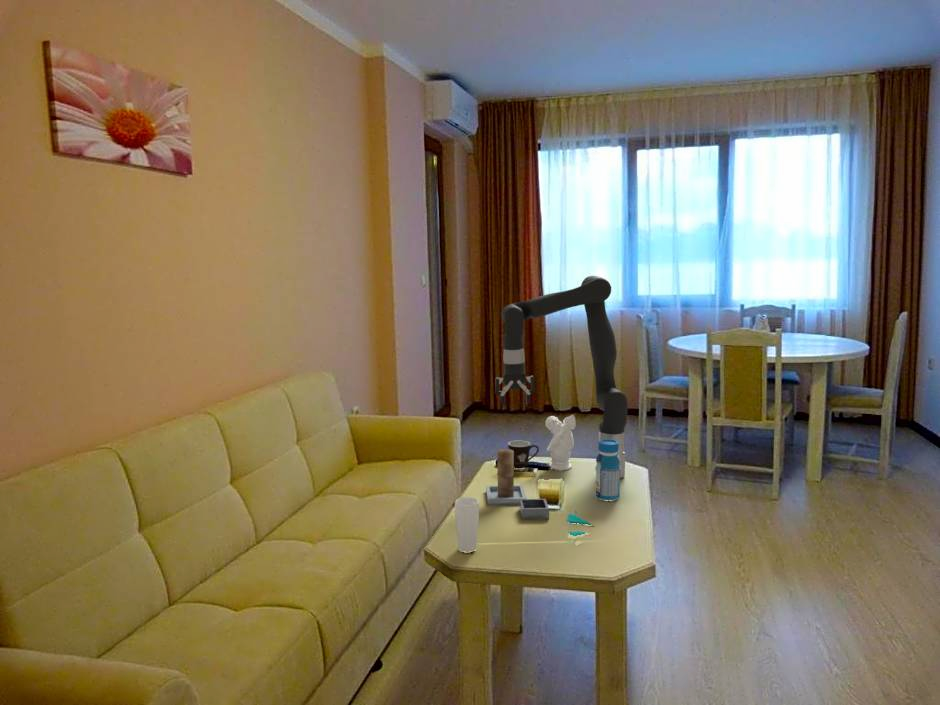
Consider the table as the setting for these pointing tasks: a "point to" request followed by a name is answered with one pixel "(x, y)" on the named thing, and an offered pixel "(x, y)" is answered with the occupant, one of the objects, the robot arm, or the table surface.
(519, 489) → the tray
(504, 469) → the canister
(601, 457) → the beverage bottle
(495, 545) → the table surface
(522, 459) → the coffee mug
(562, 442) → the cherub figurine
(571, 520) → the cloth
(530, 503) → the holder cup
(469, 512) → the drinking glass
